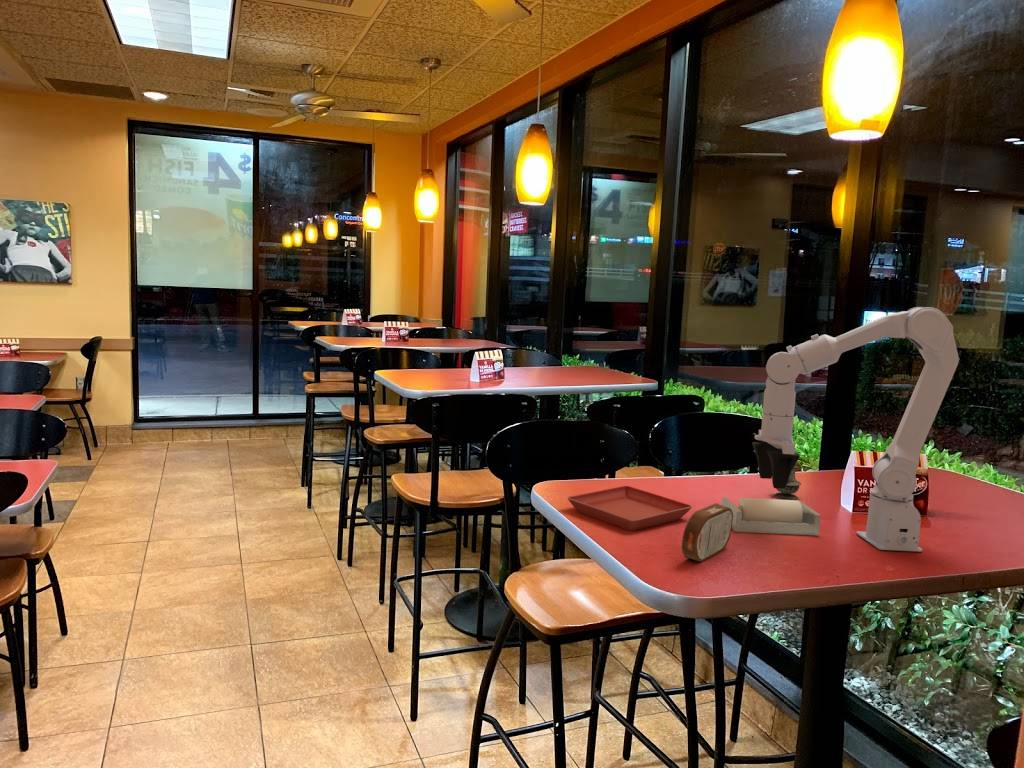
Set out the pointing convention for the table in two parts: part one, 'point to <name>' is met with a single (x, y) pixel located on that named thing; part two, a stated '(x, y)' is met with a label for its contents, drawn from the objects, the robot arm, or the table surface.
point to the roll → (771, 510)
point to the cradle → (804, 528)
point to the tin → (707, 532)
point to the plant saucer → (629, 507)
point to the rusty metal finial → (789, 487)
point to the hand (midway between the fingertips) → (772, 483)
